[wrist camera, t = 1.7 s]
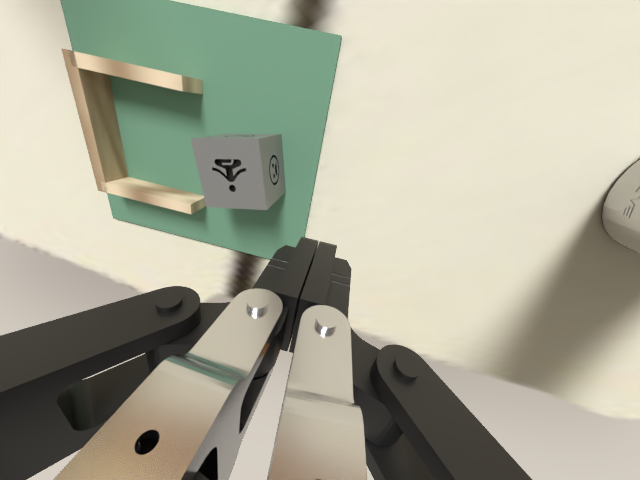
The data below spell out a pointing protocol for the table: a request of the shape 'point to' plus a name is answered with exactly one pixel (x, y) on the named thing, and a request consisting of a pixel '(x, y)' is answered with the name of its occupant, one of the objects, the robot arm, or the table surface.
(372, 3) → the table surface
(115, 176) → the wooden u-shaped frame
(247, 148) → the dice cube
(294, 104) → the green mat
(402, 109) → the table surface
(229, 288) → the table surface
